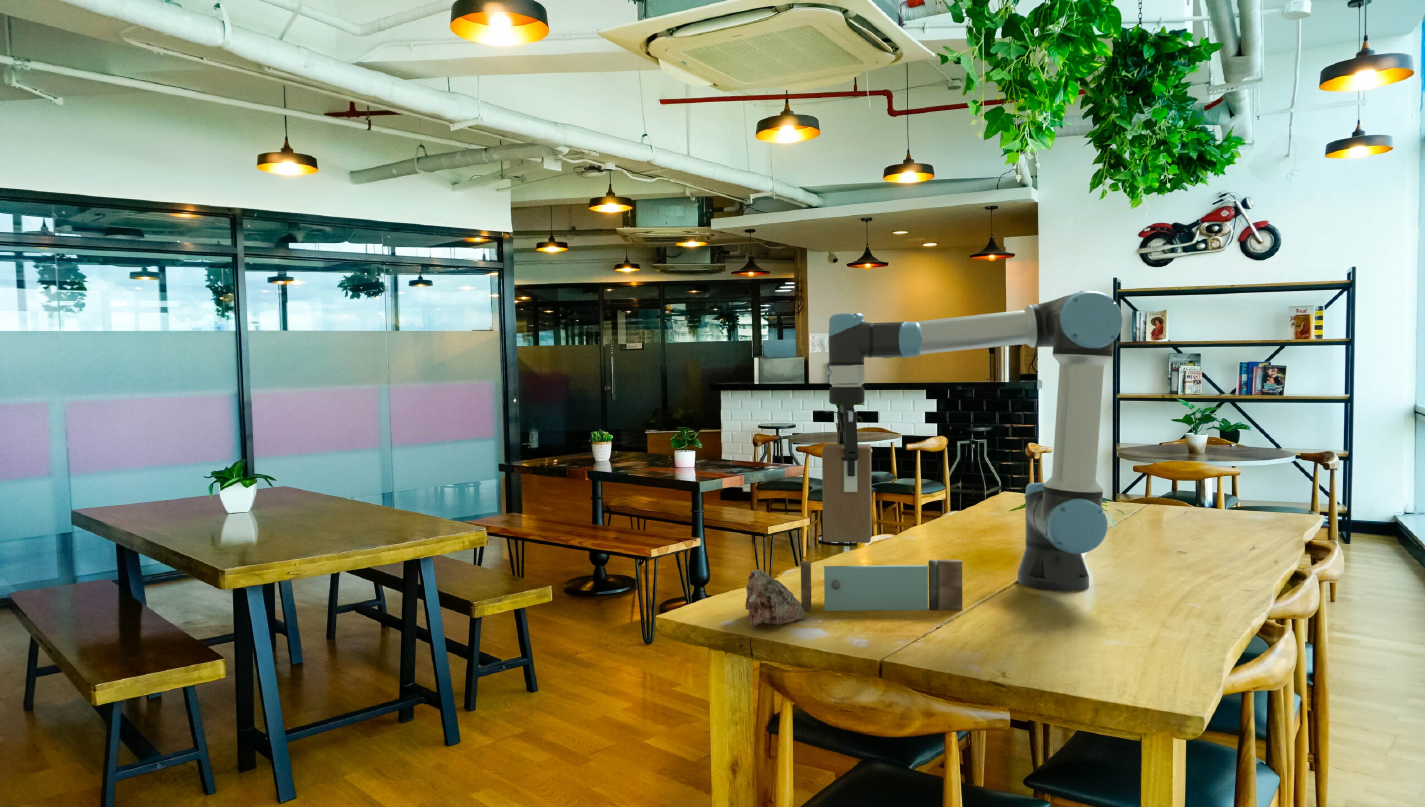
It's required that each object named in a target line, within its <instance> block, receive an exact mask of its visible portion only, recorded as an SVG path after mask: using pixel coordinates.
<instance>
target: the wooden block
mask: <svg viewBox="0 0 1425 807" xmlns="http://www.w3.org/2000/svg"><path fill="white" fill-rule="evenodd" d="M858 454H859V457H858V459H857V492H844V461H841V458H842V457H845V454H844V444H837V443H827V444H825V446H824V447H823V448H822V449H821V463H822V464H821V470H822V471H821V472H822V476H821V477H822V478H821V479H822V485H821V486H822V542H824V543H859V544H861V543H862V544H869V543H871V541H872V534H873V527H872V526H873V524H872V523H873V522H872V519H873V516H872V515H873V514H872V510H873V509H872V505H873V504H872V503H873V502H872V497H873V496H872V493H873V492H872V445H871V444H869V443H867V444H865V443H861V444H860V443H859V444H858Z"/></svg>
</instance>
